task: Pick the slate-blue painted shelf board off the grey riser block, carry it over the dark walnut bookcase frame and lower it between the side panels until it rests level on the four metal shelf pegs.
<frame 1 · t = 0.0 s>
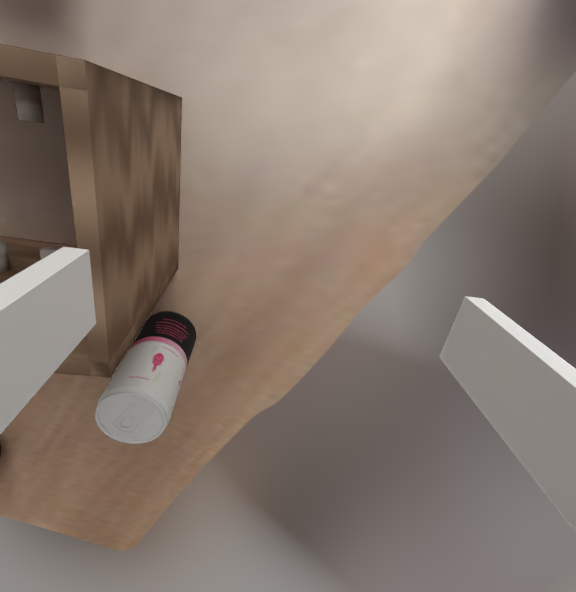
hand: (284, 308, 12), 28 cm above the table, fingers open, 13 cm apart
beverage can: (171, 331, 45), on the table
bookcase frame: (74, 175, 35), on the table
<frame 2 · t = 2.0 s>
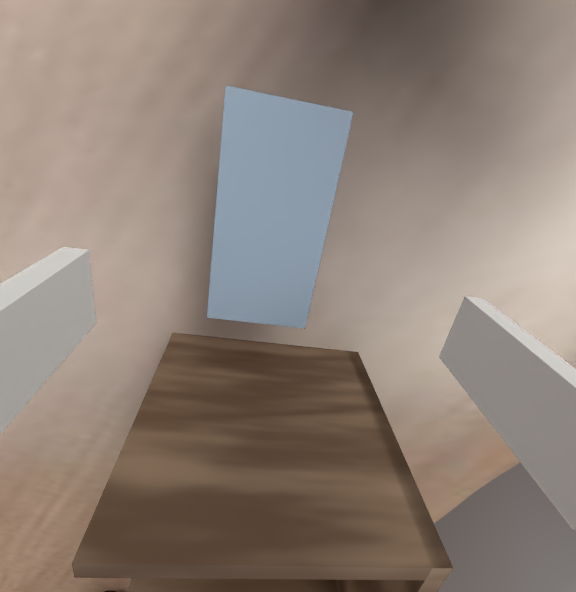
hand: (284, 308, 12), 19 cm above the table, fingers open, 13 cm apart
shelf board: (270, 217, 23), point 6 cm above the table, touching riser block
bookcase frame: (247, 407, 39), on the table
mug: (114, 591, 53), on the table
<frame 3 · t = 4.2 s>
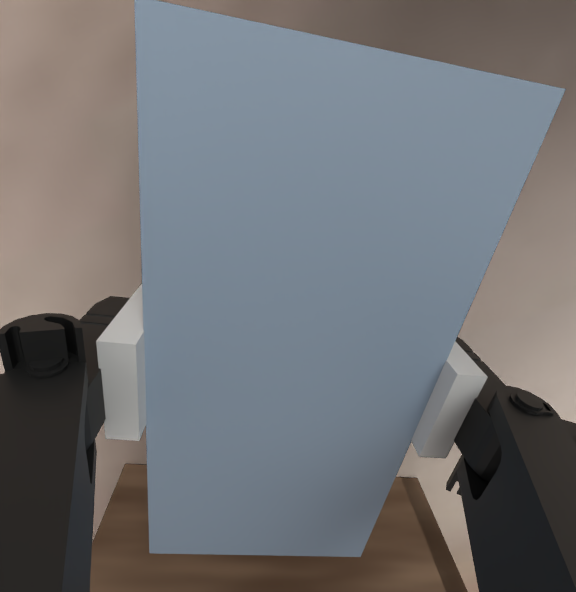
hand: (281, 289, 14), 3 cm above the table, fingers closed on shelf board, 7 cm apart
shelf board: (287, 336, 11), point 6 cm above the table, touching gripper, riser block
bookcase frame: (247, 549, 26), on the table
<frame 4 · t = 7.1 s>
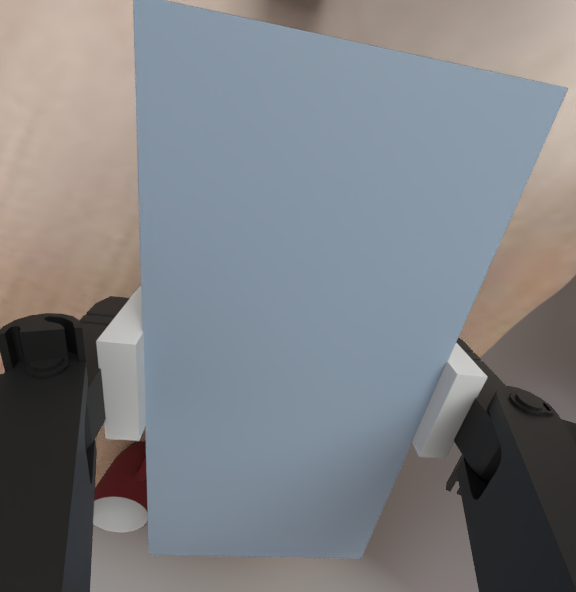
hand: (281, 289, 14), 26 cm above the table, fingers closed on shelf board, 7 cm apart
shelf board: (287, 336, 10), point 29 cm above the table, touching gripper
mug: (145, 444, 53), on the table
when the fingers open (6 cm above the table, at t = 10.2 s): shelf board stays where it is, resting on bookcase frame.
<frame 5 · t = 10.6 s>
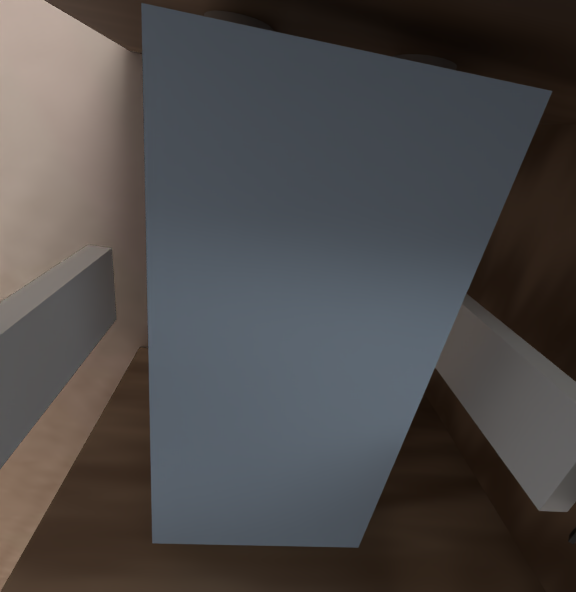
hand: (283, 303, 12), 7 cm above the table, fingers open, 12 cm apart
shelf board: (287, 331, 11), point 9 cm above the table, touching bookcase frame
bookcase frame: (294, 247, 19), on the table
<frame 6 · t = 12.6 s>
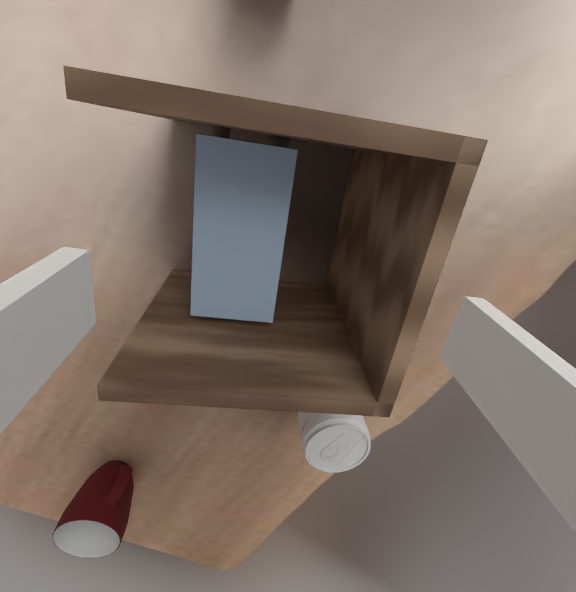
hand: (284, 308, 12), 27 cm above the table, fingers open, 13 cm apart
beverage can: (314, 355, 46), on the table
shelf board: (240, 232, 29), point 9 cm above the table, touching bookcase frame
bookcase frame: (254, 212, 37), on the table
mug: (120, 463, 51), on the table
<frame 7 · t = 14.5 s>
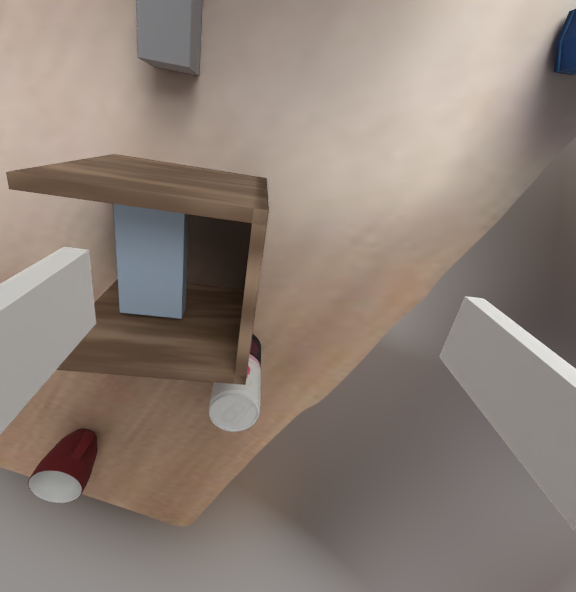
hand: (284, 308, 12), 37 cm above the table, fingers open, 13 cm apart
beverage can: (241, 345, 57), on the table
shelf board: (156, 252, 39), point 9 cm above the table, touching bookcase frame
bookcase frame: (182, 232, 47), on the table
riser block: (178, 29, 38), on the table
mug: (87, 431, 63), on the table
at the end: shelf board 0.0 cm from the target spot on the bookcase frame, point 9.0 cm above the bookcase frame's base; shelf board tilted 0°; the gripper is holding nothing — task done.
